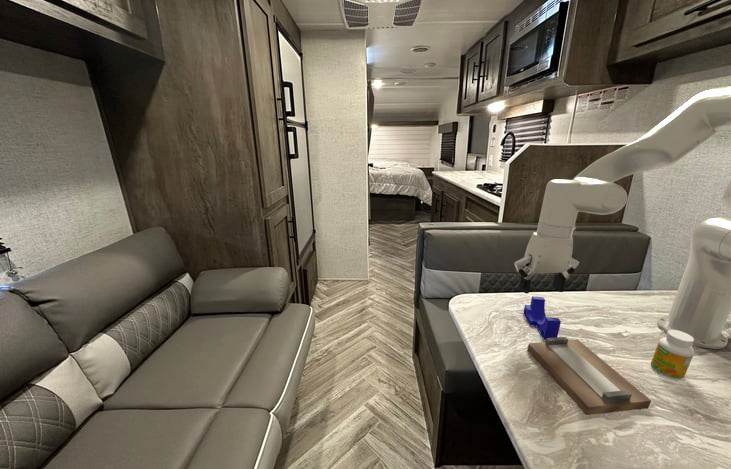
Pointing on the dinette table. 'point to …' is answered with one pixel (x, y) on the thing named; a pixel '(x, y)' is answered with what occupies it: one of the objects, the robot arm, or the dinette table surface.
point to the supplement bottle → (673, 355)
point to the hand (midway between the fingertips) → (540, 290)
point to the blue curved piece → (541, 318)
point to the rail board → (587, 377)
